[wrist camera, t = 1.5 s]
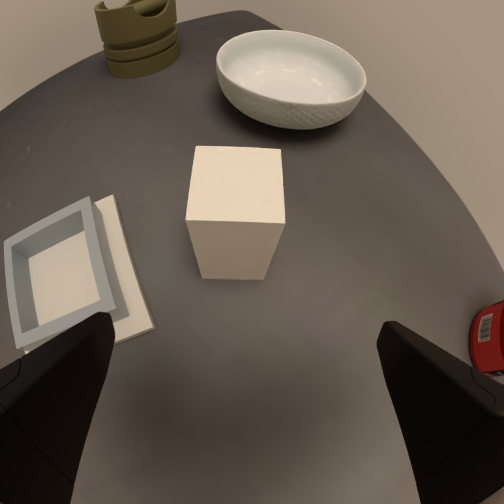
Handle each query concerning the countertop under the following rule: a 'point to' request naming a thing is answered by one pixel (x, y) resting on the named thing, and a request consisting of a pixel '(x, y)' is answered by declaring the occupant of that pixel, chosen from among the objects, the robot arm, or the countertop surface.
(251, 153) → the plug
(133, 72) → the piston
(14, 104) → the countertop surface
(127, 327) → the socket
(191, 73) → the countertop surface
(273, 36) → the cereal bowl
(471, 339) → the canned food
